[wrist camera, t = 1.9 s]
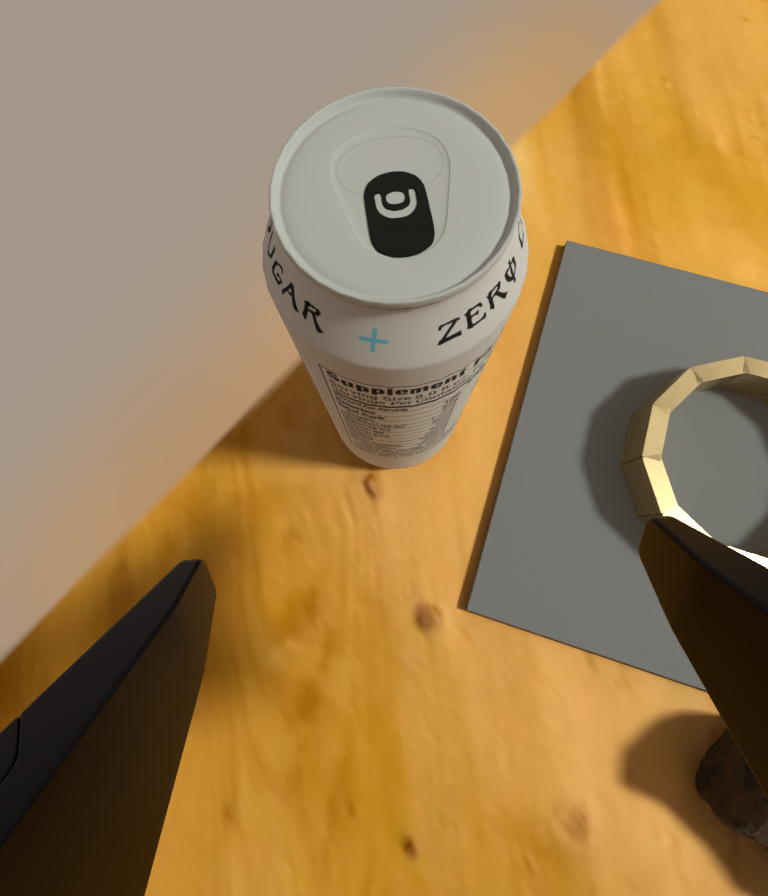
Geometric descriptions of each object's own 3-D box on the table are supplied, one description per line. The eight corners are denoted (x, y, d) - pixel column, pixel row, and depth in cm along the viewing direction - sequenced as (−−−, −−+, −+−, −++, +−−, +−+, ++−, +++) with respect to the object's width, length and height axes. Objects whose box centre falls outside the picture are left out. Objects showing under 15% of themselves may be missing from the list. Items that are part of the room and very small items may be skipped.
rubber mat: (919, 761, 19) (930, 766, 19) (465, 608, 21) (467, 610, 21) (949, 345, 23) (959, 341, 23) (564, 245, 25) (567, 240, 25)
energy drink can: (442, 350, 24) (516, 41, 9) (464, 461, 23) (590, 306, 8) (328, 368, 24) (223, 86, 9) (344, 481, 23) (252, 359, 8)
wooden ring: (816, 601, 21) (860, 607, 19) (604, 535, 21) (625, 533, 19) (840, 406, 22) (882, 393, 20) (644, 352, 23) (667, 334, 21)
